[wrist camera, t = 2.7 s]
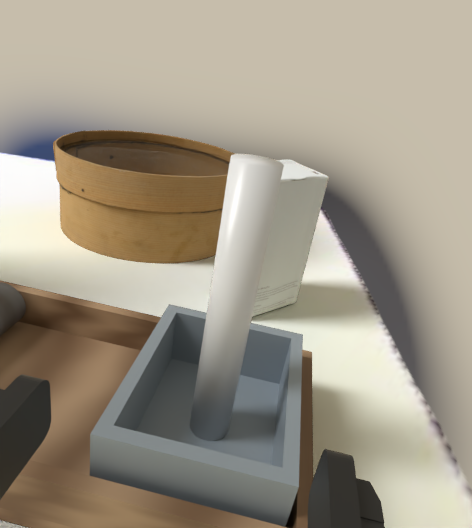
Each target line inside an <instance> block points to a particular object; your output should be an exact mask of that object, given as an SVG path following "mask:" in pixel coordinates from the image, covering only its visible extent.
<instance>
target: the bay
mask: <svg viewBox="0 0 472 528" xmlns="http://www.w3.org/2000/svg"><path fill="white" fill-rule="evenodd" d="M160 319H161V317H157V316H152V315H148V314H144V313H139V312H135V311H130V310H126V309H122V308H117V307H113V306H109V305H104V304H100V303H96V302H91V301H87V300H83V299H78V298H74V297H69V296H65V295H61V294H56V293H52V292H48V291H43V290H39V289H35V288H30V287H26V286H21V285H17V284H13V283H8V282H4V281H0V389H3V390H5V389H6V388H7V387H8V386H9V385H10V384H11V383H12V382H13V381H14V380H15V379H16V378H17V377H18V376H20V375H22V374H24V375H28V376H32V377H36V378H40V379H44V380H48V381H49V383H50V397H51V424H50V428H49V431H48V433H47V435H46V437H45V439H44V441H43V442H42V444H41V445H40V446H39V448H38V449H37V450H36V452H35V453H34V454H33V456H32V457H31V459H30V460H29V461H28V463H27V464H26V465H25V467H24V468H23V470H22V471H21V472H20V474H19V475H18V476H17V478H16V479H15V480H14V482H13V483H12V485H11V486H10V487H9V489H8V490H7V491H6V493H5V494H4V496H3V497H2V498H1V500H0V520H3V521H7V522H10V523H14V524H18V525H21V526H25V527H28V528H308V499H309V493H310V488H311V485H312V482H313V429H312V352H309V351H305V350H302V381H301V421H300V460H299V488H298V491H297V494H296V497H295V500H294V503H293V506H292V509H291V512H290V515H289V518H288V521H287V523H286V526H285V527H283V526H280V525H276V524H272V523H268V522H264V521H261V520H257V519H253V518H249V517H245V516H241V515H238V514H234V513H230V512H226V511H222V510H219V509H215V508H211V507H207V506H203V505H200V504H196V503H192V502H188V501H184V500H180V499H177V498H173V497H169V496H165V495H161V494H158V493H154V492H150V491H146V490H142V489H139V488H135V487H131V486H127V485H123V484H119V483H116V482H112V481H108V480H104V479H100V478H97V477H93V476H90V434H91V432H92V430H93V429H94V427H95V425H96V424H97V422H98V421H99V419H100V417H101V416H102V414H103V412H104V411H105V409H106V407H107V406H108V404H109V402H110V401H111V399H112V398H113V396H114V394H115V393H116V391H117V389H118V388H119V386H120V384H121V383H122V381H123V379H124V378H125V376H126V375H127V373H128V371H129V370H130V368H131V366H132V365H133V363H134V361H135V360H136V358H137V357H138V355H139V353H140V352H141V350H142V348H143V347H144V345H145V343H146V342H147V340H148V338H149V337H150V335H151V334H152V332H153V330H154V329H155V327H156V325H157V324H158V322H159V320H160Z"/></svg>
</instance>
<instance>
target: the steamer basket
mask: <svg viewBox="0 0 472 528" xmlns="http://www.w3.org/2000/svg"><path fill="white" fill-rule="evenodd" d="M53 148H54V156H55V165H56V171H57V180H58V182H59V184H60V221H61V229H62V231H63V233H64V234H65V235H66V236H67V237H68V238H69V239H70V240H71V241H73V242H74V243H76V244H77V245H79V246H81V247H83V248H85V249H88V250H90V251H93V252H96V253H99V254H102V255H105V256H109V257H113V258H117V259H122V260H128V261H136V262H145V263H182V262H190V261H196V260H201V259H205V258H208V257H212V256H214V255H216V250H217V243H218V237H219V230H220V224H221V217H222V210H223V203H224V196H225V189H226V182H227V175H228V169H229V163H230V159H231V155H234V153H232V152H230V151H227V150H225V149H222V148H219V147H216V146H212V145H209V144H205V143H201V142H197V141H193V140H189V139H184V138H179V137H173V136H167V135H161V134H153V133H144V132H133V131H112V130H108V131H104V130H101V131H80V132H75V133H70V134H67V135H64V136H61V137H60V138H58V139H57V140H56V141H54V143H53Z"/></svg>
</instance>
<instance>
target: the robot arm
mask: <svg viewBox="0 0 472 528" xmlns="http://www.w3.org/2000/svg"><path fill="white" fill-rule="evenodd" d="M50 424H51V397H50V383H49V381H48V380H44V379H40V378H36V377H32V376H28V375H24V374H22V375H20V376H18V377H17V378H16V379H15V380H14V381H13V382H12V383H11V384H10V385H9V386H8V387H7V388H6V389H5V390H3V389H0V500H1V498H2V497H3V496H4V494H5V493H6V491H7V490H8V489H9V487H10V486H11V485H12V483H13V482H14V480H15V479H16V478H17V476H18V475H19V474H20V472H21V471H22V470H23V468H24V467H25V465H26V464H27V463H28V461H29V460H30V459H31V457H32V456H33V454H34V453H35V452H36V450H37V449H38V448H39V446H40V445H41V444H42V442H43V441H44V439H45V437H46V435H47V433H48V431H49V428H50ZM308 528H385V527H384V519H383V513H382V507H381V502H380V500H379V498H378V496H377V494H376V492H375V491H374V489H373V487H372V485H371V483H370V482H369V481H365V480H361V479H357V478H356V475H355V466H354V460H353V457H352V456H351V455H347V454H343V453H339V452H335V451H331V450H327V449H325V450H324V451H323V453H322V456H321V459H320V462H319V464H318V467H317V470H316V473H315V476H314V479H313V482H312V485H311V488H310V493H309V499H308Z"/></svg>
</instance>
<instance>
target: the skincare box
mask: <svg viewBox="0 0 472 528" xmlns="http://www.w3.org/2000/svg"><path fill="white" fill-rule="evenodd" d="M276 161H279V162H281V163H282V164H283V165H284V167H283V172H282V177H281V182H280V186H279V191H278V196H277V201H276V205H275V210H274V215H273V220H272V224H271V229H270V234H269V239H268V243H267V248H266V253H265V258H264V262H263V267H262V272H261V277H260V281H259V286H258V291H257V296H256V300H255V305H254V310H253V315H252V317H253V316H256V315H259V314H262V313H265V312H268V311H271V310H274V309H277V308H280V307H283V306H286V305H289V304H293V303H296V301H297V297H298V293H299V289H300V285H301V281H302V277H303V274H304V270H305V266H306V262H307V258H308V254H309V250H310V246H311V243H312V239H313V235H314V231H315V228H316V223H317V220H318V216H319V212H320V208H321V205H322V200H323V197H324V193H325V189H326V186H327V182H328V179H329V177H328V176H326V175H324V174H321V173H319V172H317V171H315V170H313V169H310V168H307V167H305V166H303V165H301V164H298V163H296V162H294V161H292V160H276ZM229 165H230V163H229ZM228 172H229V169H228ZM227 178H228V175H227ZM226 185H227V182H226ZM225 191H226V189H225ZM224 198H225V196H224ZM223 204H224V203H223ZM222 211H223V210H222Z"/></svg>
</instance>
